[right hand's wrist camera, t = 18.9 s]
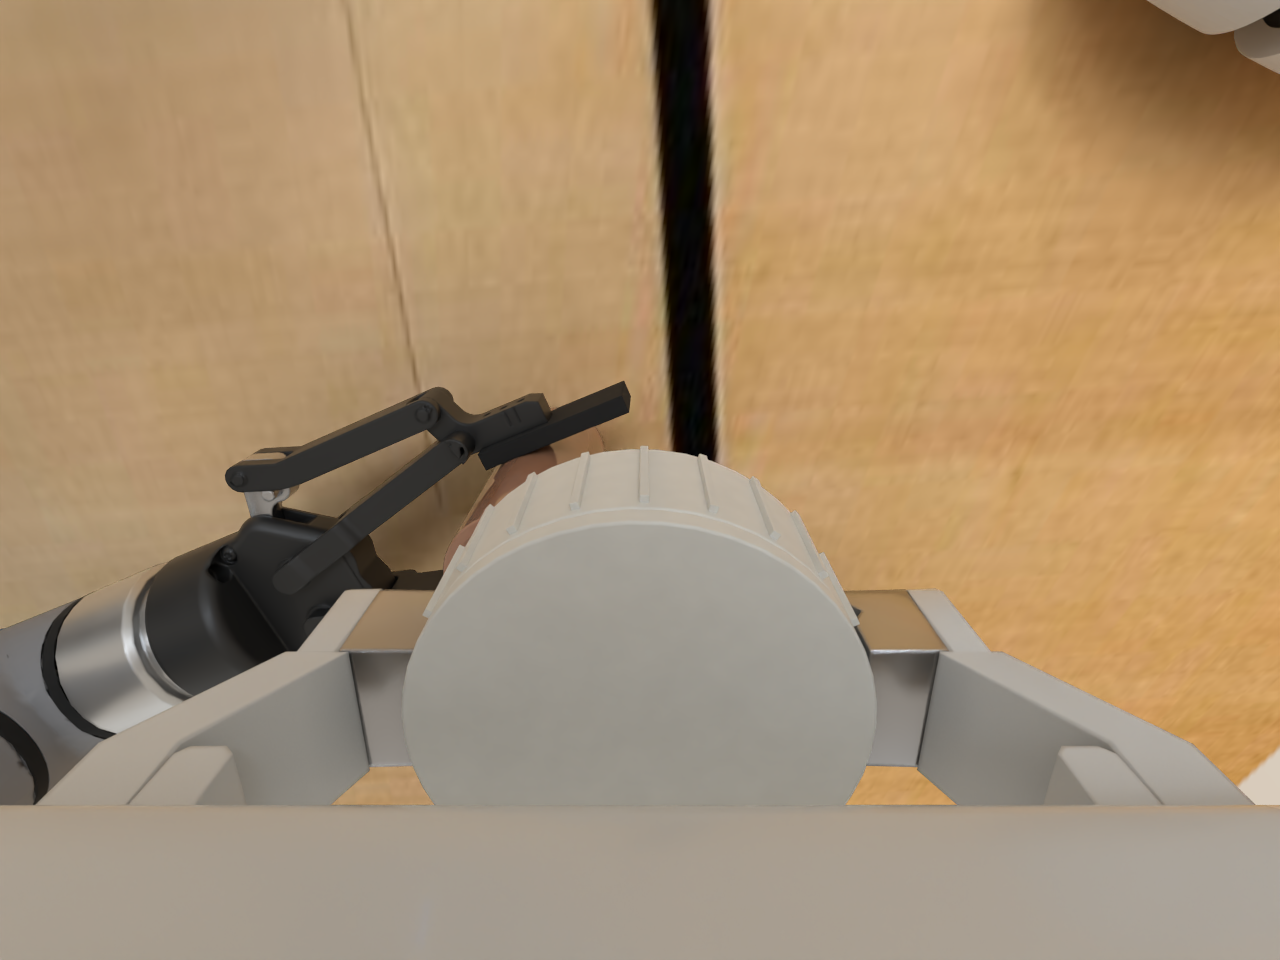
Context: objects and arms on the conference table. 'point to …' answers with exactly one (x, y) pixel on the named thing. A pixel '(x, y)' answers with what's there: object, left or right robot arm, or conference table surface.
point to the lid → (639, 648)
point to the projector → (1235, 24)
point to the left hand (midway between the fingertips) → (650, 454)
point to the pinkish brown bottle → (522, 478)
